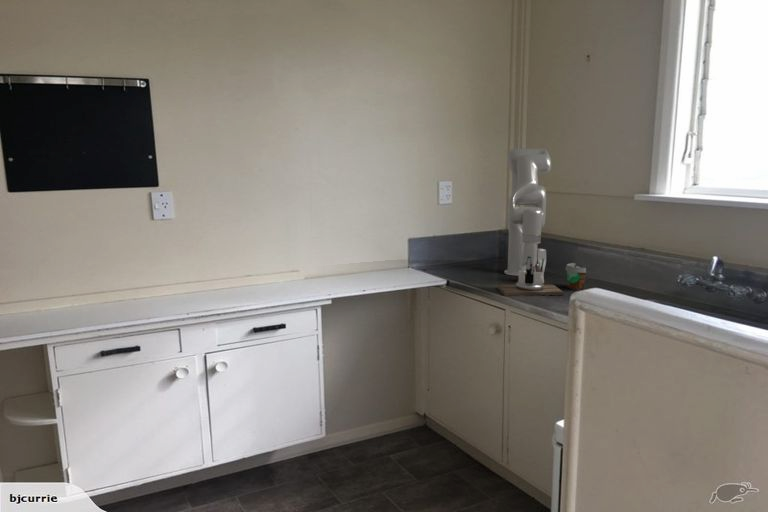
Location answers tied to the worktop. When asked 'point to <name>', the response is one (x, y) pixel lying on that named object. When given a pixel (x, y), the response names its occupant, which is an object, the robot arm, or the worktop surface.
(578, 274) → the food container
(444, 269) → the worktop surface
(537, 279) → the dial
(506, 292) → the dial board
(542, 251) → the beer glass
